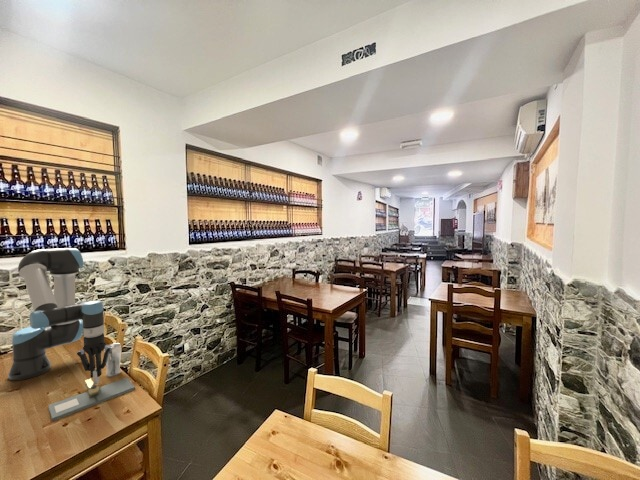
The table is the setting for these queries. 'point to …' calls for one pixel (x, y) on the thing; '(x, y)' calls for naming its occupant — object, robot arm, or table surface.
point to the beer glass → (113, 360)
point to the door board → (89, 399)
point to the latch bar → (91, 388)
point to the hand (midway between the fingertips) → (96, 383)
